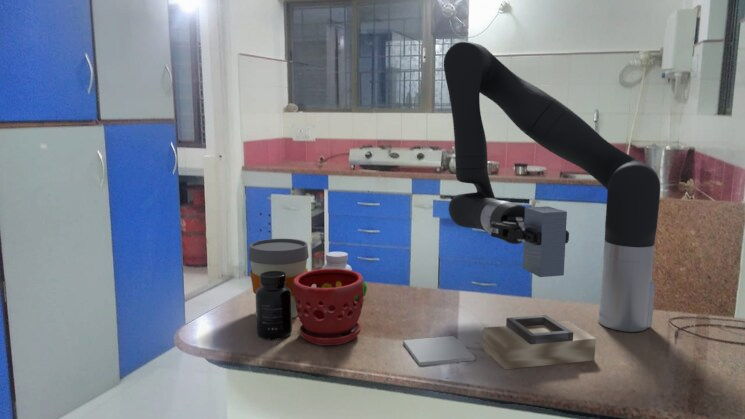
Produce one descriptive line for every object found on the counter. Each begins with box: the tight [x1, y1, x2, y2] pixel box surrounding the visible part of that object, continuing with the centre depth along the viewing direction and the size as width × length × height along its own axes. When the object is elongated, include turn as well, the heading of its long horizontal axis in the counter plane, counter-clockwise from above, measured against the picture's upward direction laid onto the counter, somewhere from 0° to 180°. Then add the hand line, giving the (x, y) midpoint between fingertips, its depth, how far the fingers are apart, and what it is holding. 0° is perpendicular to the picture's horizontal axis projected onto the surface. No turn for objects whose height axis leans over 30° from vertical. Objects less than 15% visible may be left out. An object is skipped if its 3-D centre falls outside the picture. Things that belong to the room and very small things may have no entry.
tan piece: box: [482, 314, 597, 370], centre depth 102 cm, size 17×9×6 cm, turn 104°
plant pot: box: [293, 268, 364, 346], centre depth 109 cm, size 13×13×12 cm
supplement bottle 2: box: [321, 251, 353, 288], centre depth 123 cm, size 7×7×13 cm
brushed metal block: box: [522, 206, 568, 278], centre depth 99 cm, size 4×6×11 cm
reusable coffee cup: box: [248, 238, 310, 319], centre depth 122 cm, size 13×13×15 cm
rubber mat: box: [402, 335, 476, 366], centre depth 104 cm, size 10×10×1 cm
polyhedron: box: [355, 280, 368, 301], centre depth 133 cm, size 5×5×5 cm
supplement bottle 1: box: [255, 271, 293, 341], centre depth 110 cm, size 7×7×12 cm
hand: (552, 238), depth 97 cm, fingers closed on brushed metal block, 4 cm apart
